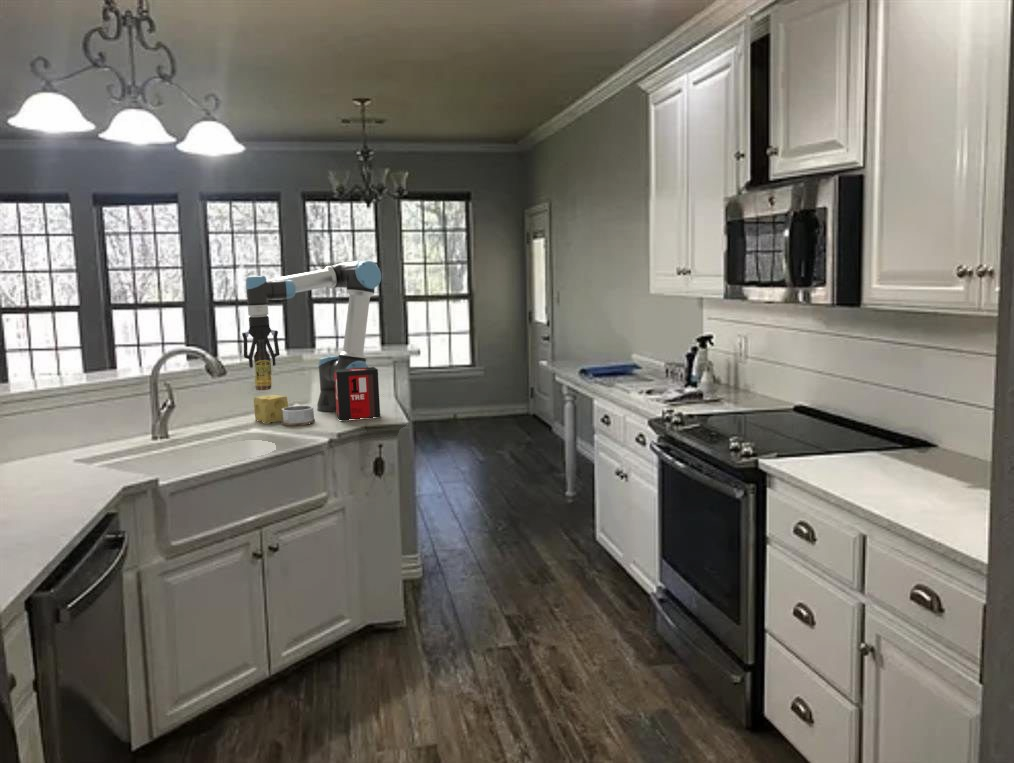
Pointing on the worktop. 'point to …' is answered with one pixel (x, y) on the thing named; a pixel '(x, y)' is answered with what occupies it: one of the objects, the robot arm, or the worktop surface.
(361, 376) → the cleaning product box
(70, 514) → the worktop surface
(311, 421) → the duct base
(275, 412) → the cheese
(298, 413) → the collar
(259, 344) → the sauce bottle
